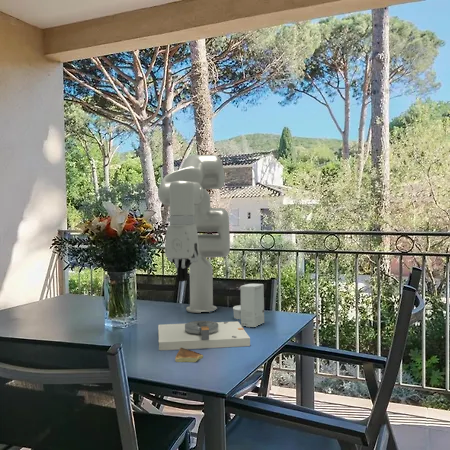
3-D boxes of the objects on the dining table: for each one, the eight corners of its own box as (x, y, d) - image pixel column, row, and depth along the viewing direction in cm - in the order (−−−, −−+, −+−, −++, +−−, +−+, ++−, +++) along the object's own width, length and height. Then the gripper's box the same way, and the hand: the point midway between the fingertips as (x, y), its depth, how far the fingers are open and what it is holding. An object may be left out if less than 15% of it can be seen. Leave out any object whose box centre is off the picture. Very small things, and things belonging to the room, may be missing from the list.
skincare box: (254, 328, 173) (254, 286, 172) (239, 326, 176) (239, 285, 175) (264, 323, 180) (264, 283, 180) (250, 321, 183) (250, 282, 182)
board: (158, 331, 169) (158, 323, 169) (238, 328, 173) (238, 320, 173) (158, 350, 147) (158, 341, 147) (250, 346, 151) (250, 337, 151)
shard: (180, 352, 147) (180, 346, 147) (205, 352, 147) (205, 346, 147) (174, 363, 137) (174, 357, 137) (201, 364, 136) (201, 357, 136)
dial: (183, 326, 165) (183, 315, 165) (216, 325, 166) (216, 314, 166) (187, 340, 148) (187, 328, 147) (223, 339, 149) (223, 327, 149)
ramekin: (259, 319, 186) (259, 308, 186) (238, 322, 183) (238, 310, 183) (249, 315, 194) (249, 304, 194) (229, 317, 191) (229, 306, 191)
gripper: (155, 221, 151) (155, 280, 151) (194, 221, 143) (195, 284, 144) (170, 220, 157) (171, 277, 158) (209, 221, 149) (209, 281, 150)
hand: (182, 280), depth 151 cm, fingers closed
